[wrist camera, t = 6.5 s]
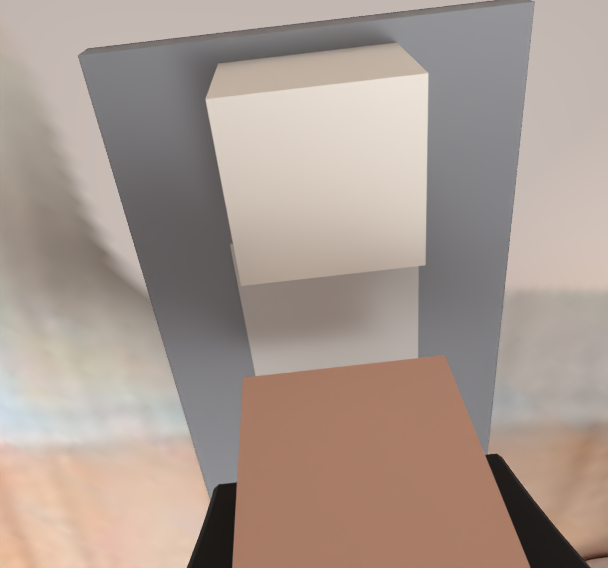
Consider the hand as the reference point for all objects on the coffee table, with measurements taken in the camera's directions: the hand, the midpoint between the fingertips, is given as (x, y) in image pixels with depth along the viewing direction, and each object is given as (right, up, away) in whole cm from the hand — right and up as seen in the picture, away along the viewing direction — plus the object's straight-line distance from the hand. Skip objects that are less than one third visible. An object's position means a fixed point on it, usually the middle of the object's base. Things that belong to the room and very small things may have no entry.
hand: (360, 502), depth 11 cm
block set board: (0, 0, +9) cm, 9 cm away
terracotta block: (0, +1, +1) cm, 2 cm away
